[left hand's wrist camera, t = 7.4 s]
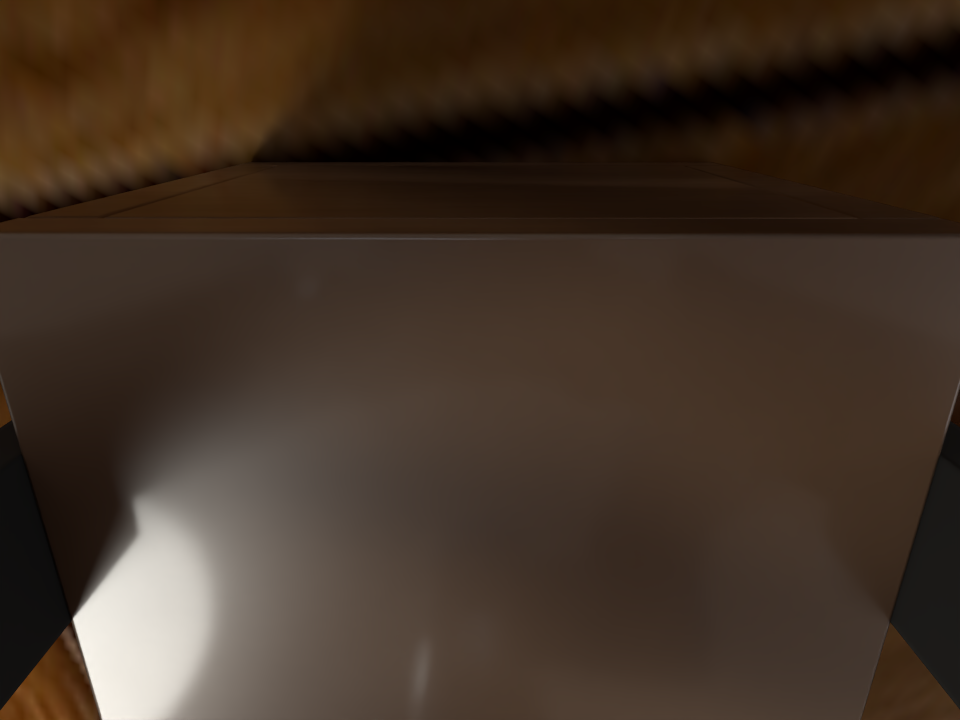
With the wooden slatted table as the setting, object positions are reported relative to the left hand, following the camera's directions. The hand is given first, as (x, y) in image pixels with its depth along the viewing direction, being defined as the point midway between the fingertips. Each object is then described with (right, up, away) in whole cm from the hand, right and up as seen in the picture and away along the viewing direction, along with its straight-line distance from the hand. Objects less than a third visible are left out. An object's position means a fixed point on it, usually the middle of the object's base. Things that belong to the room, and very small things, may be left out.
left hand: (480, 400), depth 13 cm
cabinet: (0, -4, +7) cm, 8 cm away
